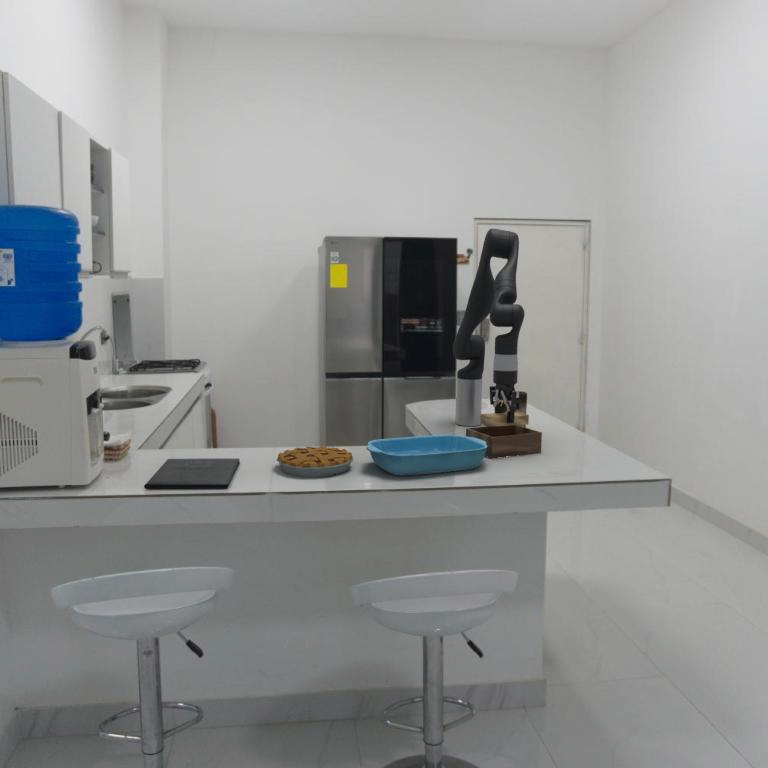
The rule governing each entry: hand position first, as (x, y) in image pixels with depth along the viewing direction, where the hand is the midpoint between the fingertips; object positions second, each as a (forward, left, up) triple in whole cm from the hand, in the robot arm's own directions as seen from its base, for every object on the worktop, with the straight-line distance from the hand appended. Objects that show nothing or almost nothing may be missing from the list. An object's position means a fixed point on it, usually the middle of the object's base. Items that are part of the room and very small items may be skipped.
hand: (504, 420), depth 234 cm
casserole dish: (+6, -31, -10) cm, 33 cm away
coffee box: (-13, +12, -10) cm, 21 cm away
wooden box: (0, 0, -10) cm, 10 cm away
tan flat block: (0, 0, -1) cm, 1 cm away
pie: (-5, -62, -10) cm, 63 cm away
